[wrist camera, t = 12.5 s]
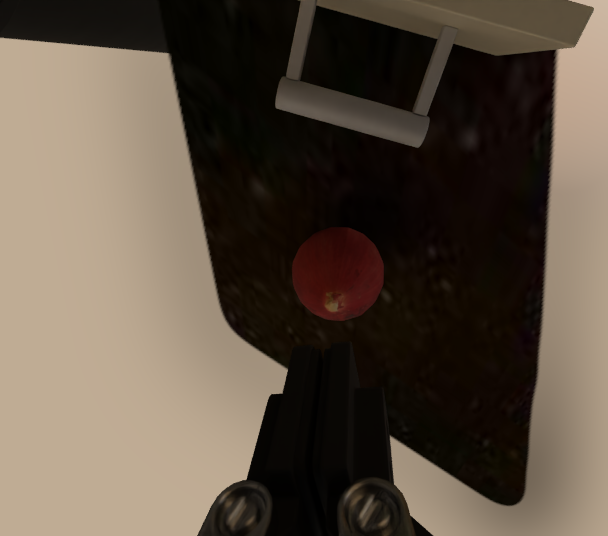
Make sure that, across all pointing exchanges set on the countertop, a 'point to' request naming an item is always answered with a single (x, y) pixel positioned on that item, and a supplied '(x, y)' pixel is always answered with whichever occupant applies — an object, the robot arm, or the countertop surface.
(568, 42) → the drawer
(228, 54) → the countertop surface
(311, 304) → the onion
